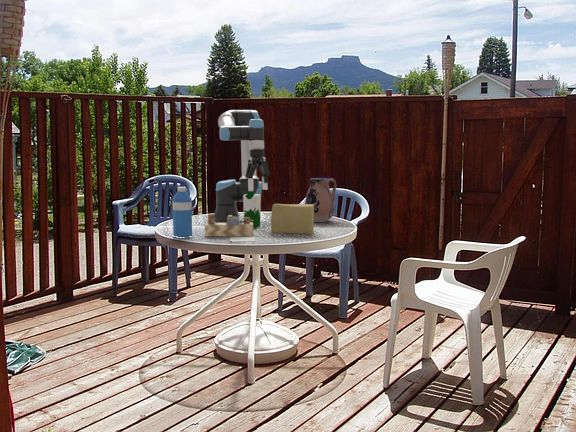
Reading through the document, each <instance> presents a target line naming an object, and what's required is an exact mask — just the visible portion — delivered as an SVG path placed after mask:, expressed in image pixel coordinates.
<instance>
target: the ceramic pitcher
mask: <svg viewBox="0 0 576 432" xmlns="http://www.w3.org/2000/svg"><path fill="white" fill-rule="evenodd" d="M309 181H310V184H309V188H308V190H307V192H306V197H305V200H304V204H313V205H314V223H326V222H328V221H329V220H330V219H332V218H333V216H334V213H335V202H334V198H335V195H336V191H337V182H336V180H335V179H334V178H333V177H315V178H313V177H311V178H310V179H309ZM330 182H331V183H332V191H331V189H330Z"/></svg>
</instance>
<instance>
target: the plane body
mask: <svg viewBox="0 0 576 432" xmlns="http://www.w3.org/2000/svg"><path fill="white" fill-rule="evenodd" d="M204 227H205V229H204V234H205V235H204V237H205V236H223V237H254V228H253V223H250V217H244V216H243V222H239V225H227V222H215V220H214V213H208V214H207V222H205V223H204Z"/></svg>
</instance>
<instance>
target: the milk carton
mask: <svg viewBox="0 0 576 432" xmlns="http://www.w3.org/2000/svg"><path fill="white" fill-rule="evenodd" d="M261 197H262V193H261V194H254V191H247V194H245V195H243V218H244V217H250V223H253V229H258V228H260V227H261V224H262V223H261V221H262V220H261V216H262V215H261V214H262V213H261V199H262V198H261Z"/></svg>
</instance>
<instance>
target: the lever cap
mask: <svg viewBox="0 0 576 432" xmlns="http://www.w3.org/2000/svg"><path fill="white" fill-rule="evenodd" d="M226 223H227V225H239V223H240V215H239V216H232V215H228V216H227V221H226Z"/></svg>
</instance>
